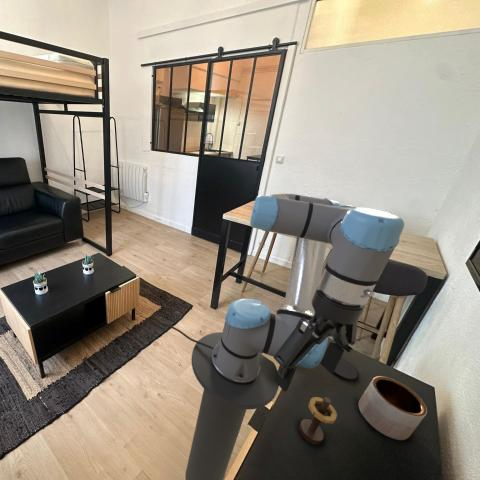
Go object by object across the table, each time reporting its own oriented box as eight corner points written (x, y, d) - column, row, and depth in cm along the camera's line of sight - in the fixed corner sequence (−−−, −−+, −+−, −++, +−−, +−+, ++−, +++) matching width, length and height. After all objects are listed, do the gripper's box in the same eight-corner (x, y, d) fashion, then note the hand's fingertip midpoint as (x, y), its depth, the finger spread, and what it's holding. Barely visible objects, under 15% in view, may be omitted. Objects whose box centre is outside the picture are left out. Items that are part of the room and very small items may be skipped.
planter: (414, 451, 60) (434, 427, 57) (359, 424, 65) (375, 400, 61) (403, 413, 69) (420, 389, 65) (355, 391, 74) (369, 368, 70)
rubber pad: (324, 367, 81) (324, 366, 81) (331, 354, 86) (331, 353, 86) (353, 385, 76) (354, 383, 76) (359, 370, 81) (359, 368, 81)
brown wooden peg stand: (296, 432, 62) (312, 398, 57) (303, 418, 66) (318, 385, 61) (318, 449, 59) (337, 416, 54) (324, 434, 62) (342, 401, 57)
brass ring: (305, 410, 59) (306, 407, 59) (313, 395, 62) (314, 392, 62) (331, 429, 56) (333, 426, 55) (337, 412, 59) (339, 409, 59)
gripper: (309, 321, 38) (272, 412, 46) (405, 295, 47) (360, 375, 55) (272, 293, 44) (246, 377, 53) (363, 274, 53) (328, 349, 62)
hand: (304, 376), depth 54 cm, fingers open, 13 cm apart
